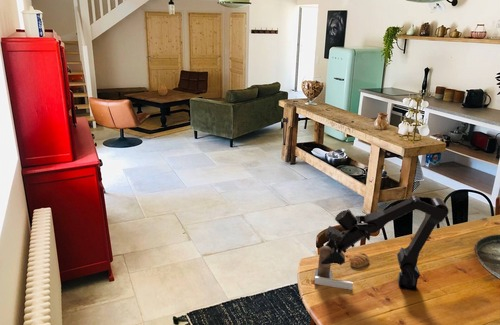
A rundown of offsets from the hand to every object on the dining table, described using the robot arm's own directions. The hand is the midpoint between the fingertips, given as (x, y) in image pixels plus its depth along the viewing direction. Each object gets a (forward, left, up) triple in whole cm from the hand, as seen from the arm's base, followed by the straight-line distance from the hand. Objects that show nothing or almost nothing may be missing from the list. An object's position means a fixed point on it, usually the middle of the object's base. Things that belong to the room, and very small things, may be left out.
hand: (321, 257), depth 168 cm
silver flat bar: (-6, +6, -9) cm, 12 cm away
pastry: (-16, -13, -9) cm, 23 cm away
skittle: (-1, 0, -8) cm, 8 cm away
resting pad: (-1, 0, -9) cm, 9 cm away
